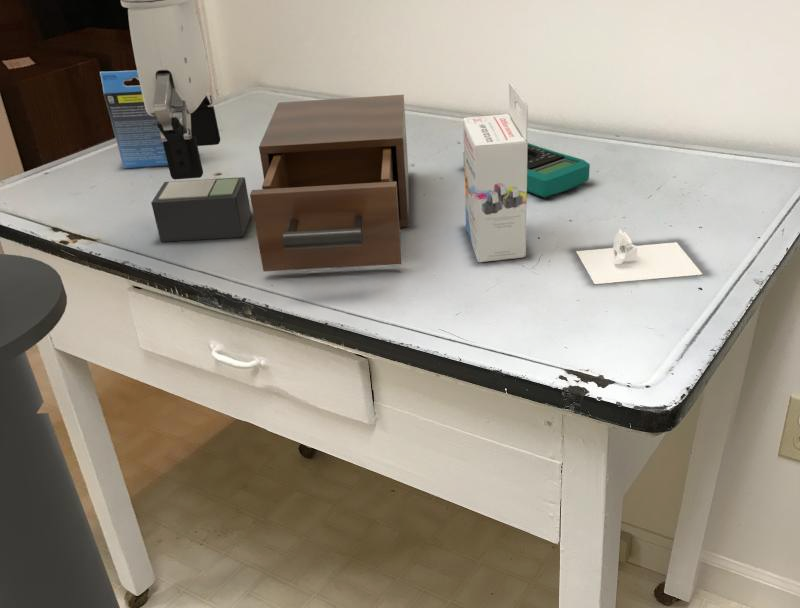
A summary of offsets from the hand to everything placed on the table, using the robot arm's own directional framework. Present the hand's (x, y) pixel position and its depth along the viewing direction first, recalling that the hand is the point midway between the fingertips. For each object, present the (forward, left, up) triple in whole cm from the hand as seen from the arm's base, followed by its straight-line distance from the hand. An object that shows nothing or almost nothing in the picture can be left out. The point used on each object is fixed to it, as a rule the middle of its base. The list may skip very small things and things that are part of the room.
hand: (197, 160), depth 90 cm
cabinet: (+15, +5, -8) cm, 17 cm away
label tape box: (-11, +23, -8) cm, 26 cm away
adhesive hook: (+44, -14, -8) cm, 47 cm away
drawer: (+15, -9, -7) cm, 18 cm away
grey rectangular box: (0, 0, -8) cm, 8 cm away
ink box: (+31, -8, -8) cm, 33 cm away
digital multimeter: (+36, +10, -8) cm, 38 cm away
